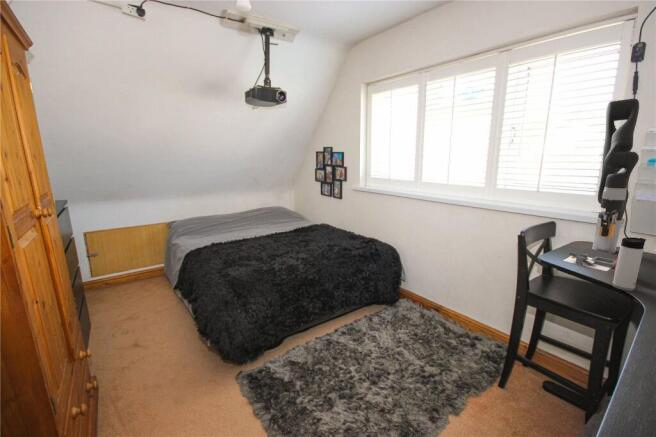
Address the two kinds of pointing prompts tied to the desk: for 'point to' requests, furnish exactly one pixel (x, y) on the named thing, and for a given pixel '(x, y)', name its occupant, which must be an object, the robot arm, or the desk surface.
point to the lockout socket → (604, 262)
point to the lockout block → (611, 231)
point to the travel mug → (628, 263)
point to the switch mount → (580, 259)
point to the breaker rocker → (583, 259)
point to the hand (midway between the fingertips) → (606, 235)
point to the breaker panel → (573, 260)
